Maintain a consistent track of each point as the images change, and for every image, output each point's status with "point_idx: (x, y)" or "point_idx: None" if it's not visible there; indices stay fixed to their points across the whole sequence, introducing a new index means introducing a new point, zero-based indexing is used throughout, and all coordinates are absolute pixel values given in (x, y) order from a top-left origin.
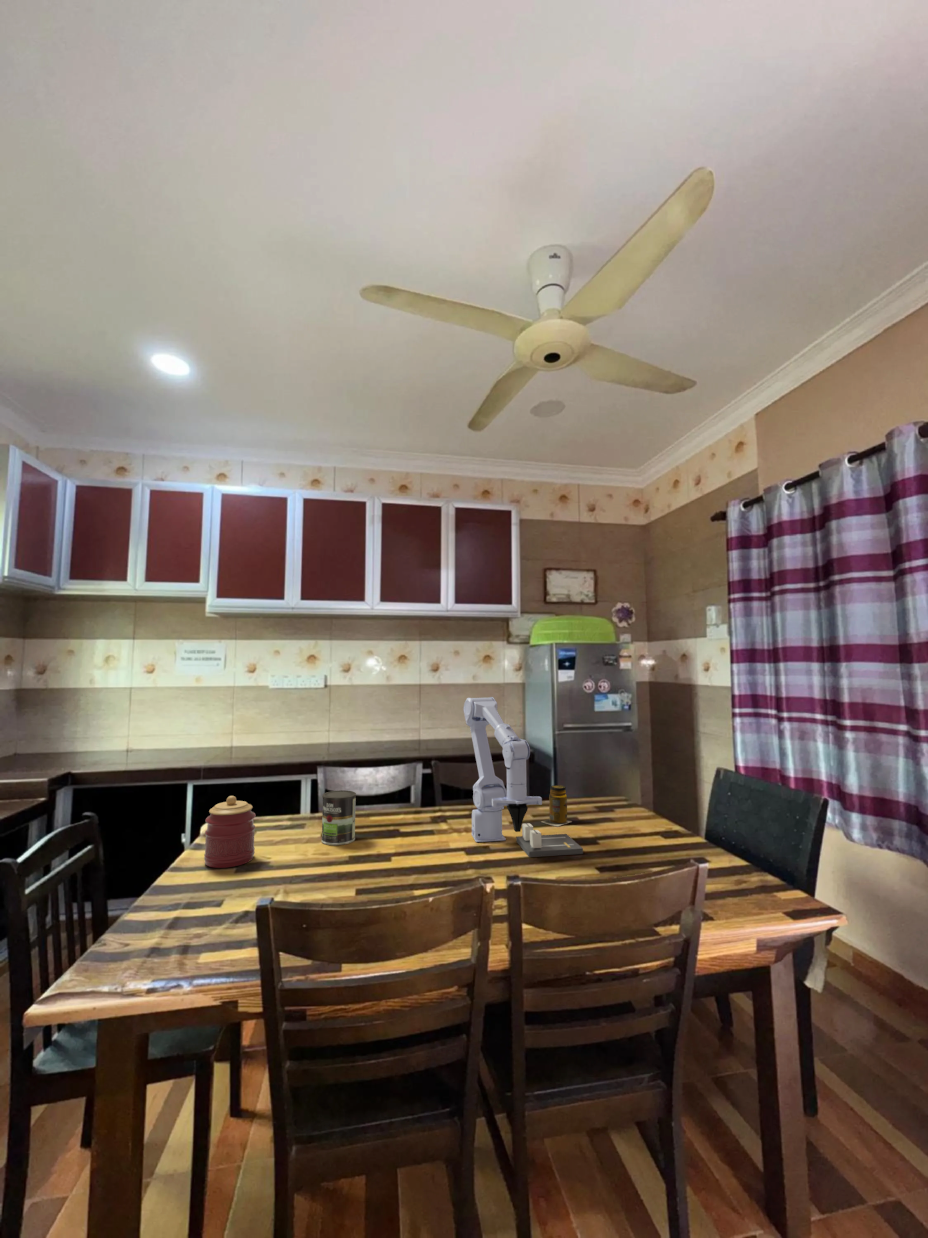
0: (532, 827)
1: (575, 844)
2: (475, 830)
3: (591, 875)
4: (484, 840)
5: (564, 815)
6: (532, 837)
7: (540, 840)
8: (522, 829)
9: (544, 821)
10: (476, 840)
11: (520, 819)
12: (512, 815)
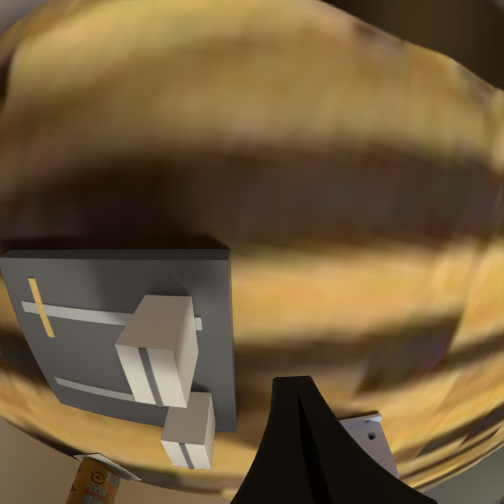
0: (164, 437)
1: (18, 307)
2: (388, 445)
3: (45, 20)
4: (355, 420)
5: (81, 471)
6: (182, 347)
7: (136, 317)
8: (212, 448)
9: (132, 478)
10: (380, 418)
11: (288, 456)
12: (392, 476)
